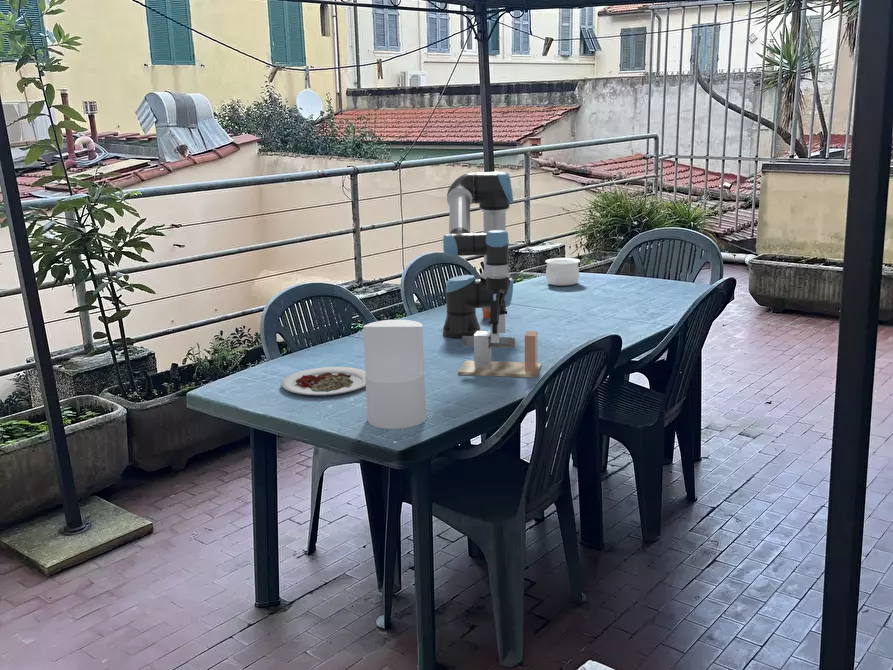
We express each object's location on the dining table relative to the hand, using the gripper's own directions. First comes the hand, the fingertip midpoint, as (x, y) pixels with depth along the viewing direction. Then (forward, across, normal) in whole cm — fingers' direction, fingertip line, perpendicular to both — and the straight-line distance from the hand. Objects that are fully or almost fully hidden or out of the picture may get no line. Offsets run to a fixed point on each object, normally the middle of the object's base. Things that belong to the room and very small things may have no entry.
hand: (498, 337), depth 298 cm
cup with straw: (+11, +77, +16) cm, 80 cm away
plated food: (+12, -22, +55) cm, 60 cm away
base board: (+12, 0, 0) cm, 12 cm away
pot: (+10, +151, -9) cm, 152 cm away
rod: (+3, 0, +4) cm, 5 cm away
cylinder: (+12, -52, +23) cm, 58 cm away
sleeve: (+12, 0, +6) cm, 13 cm away
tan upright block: (+12, 0, -11) cm, 16 cm away
